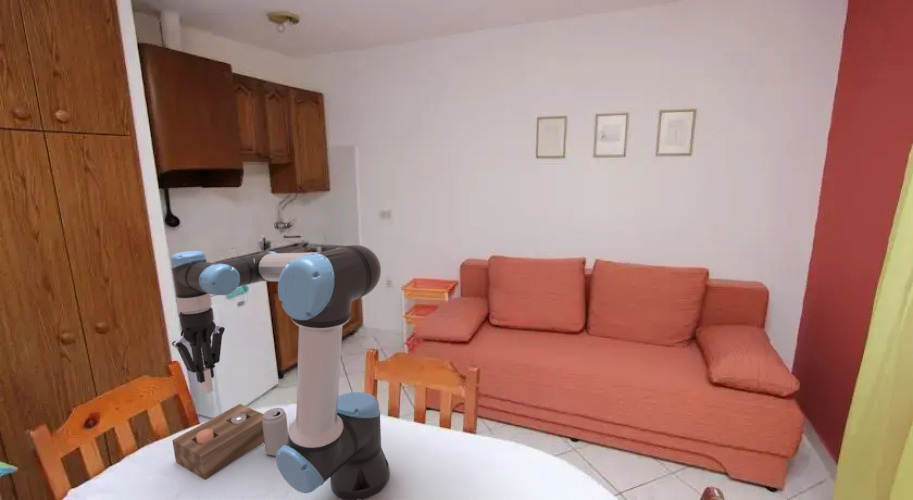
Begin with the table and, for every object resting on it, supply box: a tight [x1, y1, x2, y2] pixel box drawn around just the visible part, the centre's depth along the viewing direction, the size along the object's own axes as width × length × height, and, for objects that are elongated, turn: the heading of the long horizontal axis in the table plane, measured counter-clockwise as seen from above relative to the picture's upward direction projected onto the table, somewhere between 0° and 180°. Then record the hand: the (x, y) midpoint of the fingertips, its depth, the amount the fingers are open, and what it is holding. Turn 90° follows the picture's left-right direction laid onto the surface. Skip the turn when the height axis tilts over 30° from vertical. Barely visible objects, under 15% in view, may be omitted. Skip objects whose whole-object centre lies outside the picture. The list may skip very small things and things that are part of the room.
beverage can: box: [262, 407, 289, 457], centre depth 118 cm, size 6×6×12 cm
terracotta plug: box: [196, 429, 214, 445], centre depth 114 cm, size 4×4×6 cm
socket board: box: [172, 403, 265, 480], centre depth 119 cm, size 14×20×7 cm
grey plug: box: [231, 413, 246, 425], centre depth 123 cm, size 4×4×6 cm
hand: (207, 390), depth 112 cm, fingers closed
